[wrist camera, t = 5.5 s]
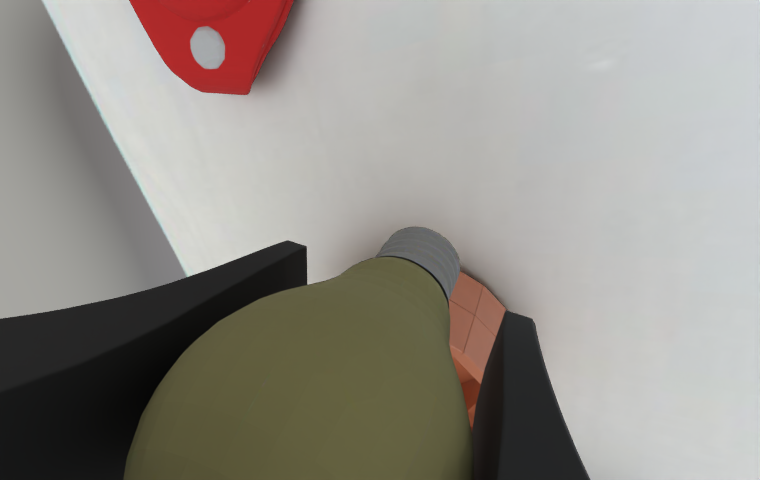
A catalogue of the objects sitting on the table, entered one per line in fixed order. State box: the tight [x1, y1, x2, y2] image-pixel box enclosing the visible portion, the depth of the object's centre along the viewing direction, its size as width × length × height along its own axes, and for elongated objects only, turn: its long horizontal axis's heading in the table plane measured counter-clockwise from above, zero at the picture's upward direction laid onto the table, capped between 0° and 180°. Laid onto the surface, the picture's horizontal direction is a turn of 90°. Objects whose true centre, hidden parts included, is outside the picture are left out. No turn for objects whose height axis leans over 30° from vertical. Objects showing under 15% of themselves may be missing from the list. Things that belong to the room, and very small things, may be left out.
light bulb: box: [123, 227, 474, 480], centre depth 9 cm, size 6×6×10 cm
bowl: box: [449, 271, 507, 431], centre depth 22 cm, size 11×11×6 cm
